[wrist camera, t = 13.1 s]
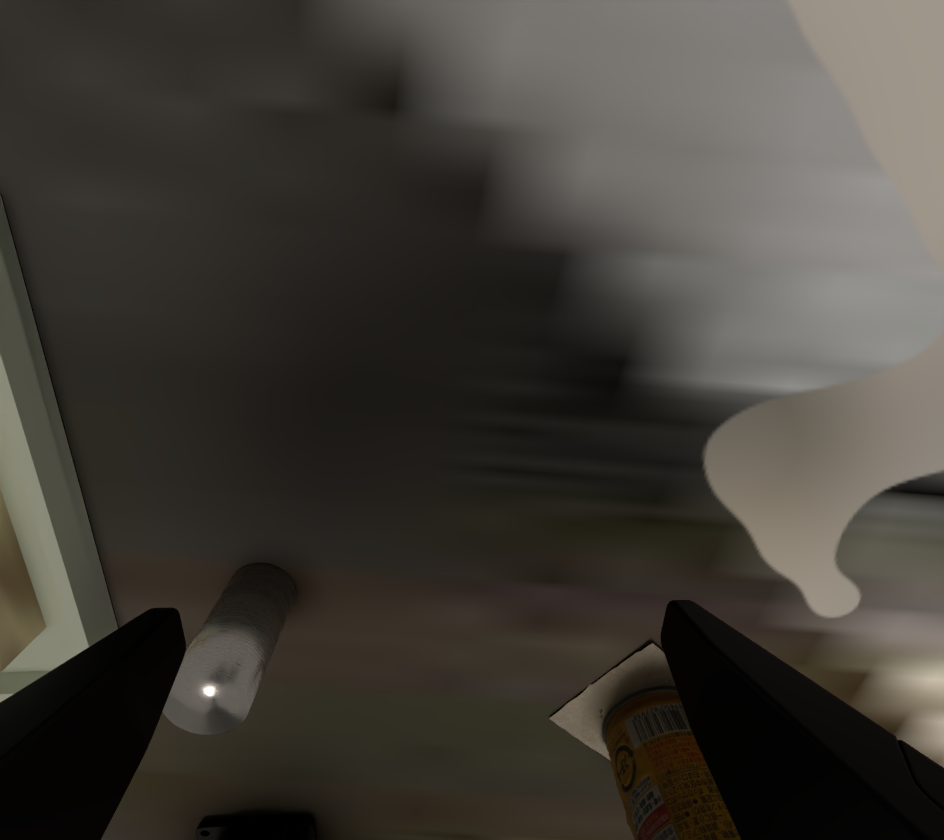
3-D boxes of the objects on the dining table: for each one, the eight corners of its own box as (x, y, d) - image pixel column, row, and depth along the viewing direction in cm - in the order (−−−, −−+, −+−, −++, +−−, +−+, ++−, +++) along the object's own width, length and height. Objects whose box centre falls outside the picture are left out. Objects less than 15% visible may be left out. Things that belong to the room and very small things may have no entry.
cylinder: (298, 615, 23) (253, 733, 18) (233, 616, 23) (168, 736, 17) (292, 562, 22) (243, 671, 17) (225, 563, 22) (152, 673, 16)
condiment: (641, 780, 29) (767, 1117, 18) (548, 715, 27) (627, 1056, 16) (739, 713, 28) (943, 1033, 17) (649, 637, 25) (818, 953, 14)
